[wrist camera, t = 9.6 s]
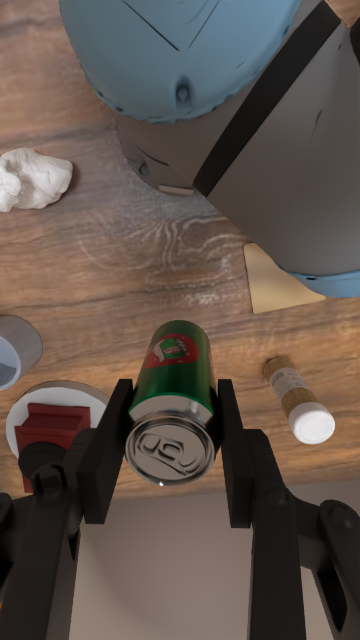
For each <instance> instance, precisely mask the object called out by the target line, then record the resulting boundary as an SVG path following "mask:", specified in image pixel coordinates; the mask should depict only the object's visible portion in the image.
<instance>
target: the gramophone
mask: <svg viewBox="0 0 360 640" xmlns="http://www.w3.org/2000/svg"><path fill="white" fill-rule="evenodd" d="M109 400H110V399H109V398H108V397H107V396H106V395H105V394H104V393H102V392H100V391H98V390H96V389H94V388H92V387H90V386H88V385H86V384H81V383H77V382H72V381H67V380H65V381H51V382H46V383H43V384H41V385H38V386H36V387H33V388H31V389H30V390H29V391H28V392H27V393H26V394H24V395H23V396H22V397H21V398H20V399H19V400H18V401H17V402H16V403H15V404H14V405H13V406H12V408H11V411H10V413H9V415H8V417H7V419H6V437H7V440H8V442H9V445H10V448H11V450H12V452H13V453H14V454H15V456H16V457H17V458H18V465H19V468H20V470H21V472H22V478H23V484H24V490H25V493H34V492H33V489H32V485H31V481H30V478H31V477H32V475H33V473H34V472H35V471H36V470H37V469H38V468H40V467H41V466H43V465H45V464H47V463H50V462H58V461H59V462H61V461H62V459H63V458H64V456H65V454H66V453H67V450H68V449H69V447H70V445H71V443H72V441H73V439H74V438H75V436H76V435H77V434H78V433H79V432H80V431H81V430H82V429H83V428H97V426H98V424H99V421H100V419H101V417H102V415H103V413H104V411H105V409H106V407H107V404H108V402H109ZM124 457H125V454H124ZM123 460H124V458H123ZM1 604H2V603H1ZM0 608H1V605H0Z"/></svg>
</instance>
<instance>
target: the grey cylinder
mask: <svg viewBox="0 0 360 640" xmlns="http://www.w3.org/2000/svg"><path fill="white" fill-rule="evenodd" d="M42 352H43V345H42V340H41V338H40V336H39V334H38V332H37V331H36V330H35V328H34V327H33V326H32V325H31V324H29V323H28V322H26V321H25V320H23V319H21V318H18V317H15V316H0V390H3V389H6V388H9V387H11V386H12V385H13V384H14V383H15V382H17V381H18V380H19V379H20V378H21V377H22V376H23V375H24V374H26V373H27V372H28V371H29V370H30V369H31V368H32V367H33V366H35V365H36V364H37V363H38V361H39V360H40V358H41V356H42Z"/></svg>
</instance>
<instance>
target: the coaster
mask: <svg viewBox="0 0 360 640" xmlns="http://www.w3.org/2000/svg"><path fill="white" fill-rule="evenodd" d="M243 251H244V257H245V264H246V270H247V276H248V283H249V289H250V295H251V302H252V308H253V314H259V313H264V312H269V311H274V310H278V309H283V308H288V307H293V306H298V305H303V304H307V303H312V302H317V301H322V300H325V296H324V295H321V294H318V293H316V292H314V291H312V290H310V289H308V288H307V287H306V286H305V285H303V284H302V283H301V282H300V281H298V280H297V279H296V278H295V277H293V276H291V275H288V274H287V273H286V272H284V271H282V270H280V269H279V268H278V267H277V266H276V264H275V263H274V261H273V259H272V258H271V257H270V256H269V255H268V254H267V253H266V252H264V251H263V250H262V249H261V248H260V247H259V246H258V245H257V244H255V243H254V242H252V243H247V244H243Z"/></svg>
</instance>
